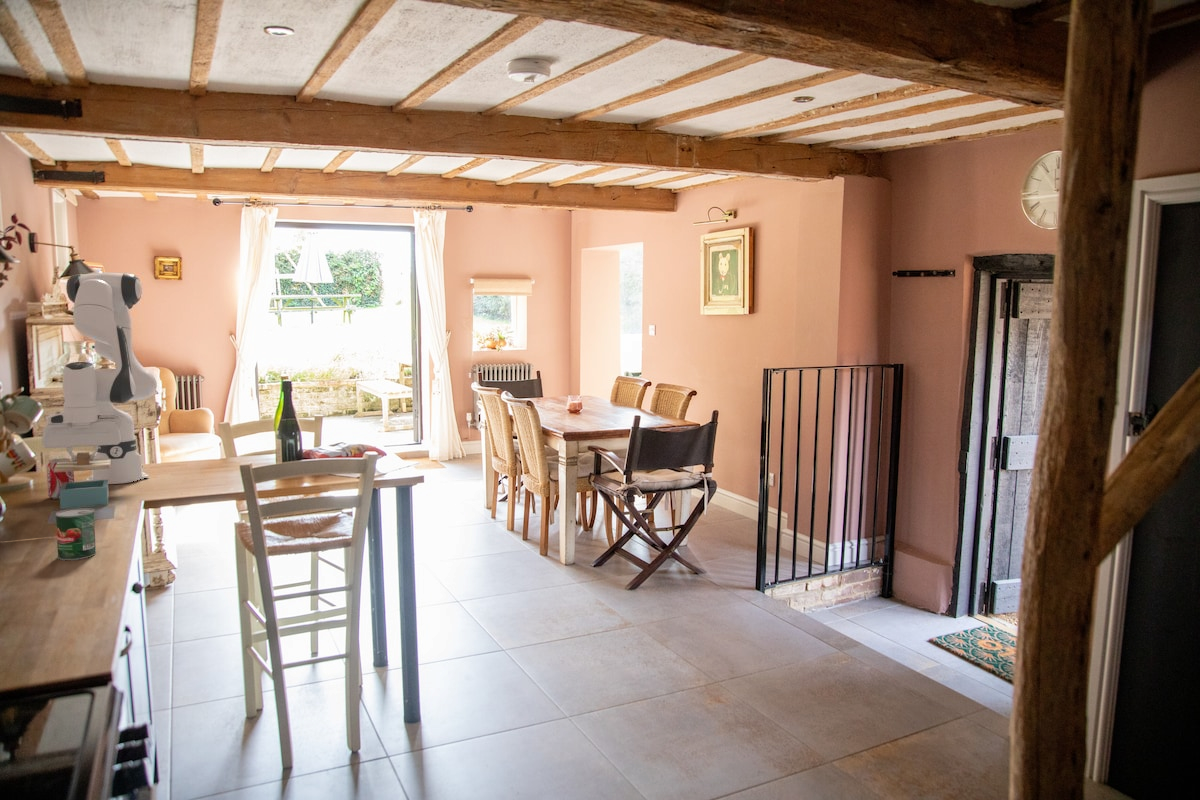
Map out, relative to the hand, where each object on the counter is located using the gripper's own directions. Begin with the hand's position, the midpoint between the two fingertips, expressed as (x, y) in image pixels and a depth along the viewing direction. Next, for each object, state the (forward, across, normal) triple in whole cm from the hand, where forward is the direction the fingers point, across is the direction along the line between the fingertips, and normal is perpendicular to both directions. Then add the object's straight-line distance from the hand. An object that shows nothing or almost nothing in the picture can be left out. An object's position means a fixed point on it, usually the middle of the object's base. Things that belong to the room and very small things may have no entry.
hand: (83, 460), depth 246 cm
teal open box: (+14, 0, 0) cm, 14 cm away
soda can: (+14, +7, -13) cm, 20 cm away
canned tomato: (+14, -1, +59) cm, 60 cm away
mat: (+14, 0, +16) cm, 21 cm away
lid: (+2, 0, 0) cm, 2 cm away
